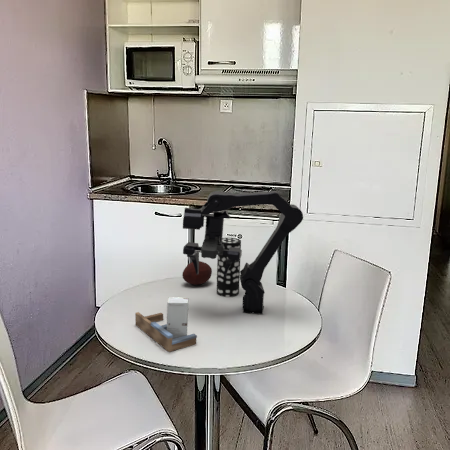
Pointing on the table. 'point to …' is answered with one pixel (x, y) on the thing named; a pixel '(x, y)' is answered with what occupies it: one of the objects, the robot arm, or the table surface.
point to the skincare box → (177, 316)
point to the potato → (192, 277)
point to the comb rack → (162, 332)
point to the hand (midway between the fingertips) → (210, 275)
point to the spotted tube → (231, 281)
